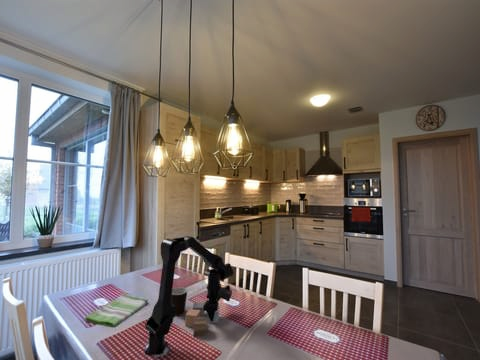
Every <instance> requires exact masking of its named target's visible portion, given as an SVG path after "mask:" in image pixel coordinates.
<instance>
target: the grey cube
mask: <svg viewBox="0 0 480 360" xmlns="http://www.w3.org/2000/svg"><path fill="white" fill-rule="evenodd" d="M219 319H220V306H219V307H218V311H215V315H214V320H213V321H210V318H209V316H208V314H207V313H206V323H209V324H211V323H213V324H218V323H219Z"/></svg>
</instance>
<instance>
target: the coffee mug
mask: <svg viewBox="0 0 480 360" xmlns="http://www.w3.org/2000/svg"><path fill="white" fill-rule="evenodd" d="M187 295H188V289H187V288H186V287H181V286H179V287H174V288H173V289H172V297H171V303H172V304H173V305H175V306H176V310H175V316H180V315H183V314H184V313H185V311H186V303H187Z"/></svg>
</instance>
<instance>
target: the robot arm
mask: <svg viewBox="0 0 480 360" xmlns="http://www.w3.org/2000/svg"><path fill="white" fill-rule="evenodd" d="M188 249H190V250H191V251H192V252H194V253H195V254H196V255H197V256H199V257H200V258H201V259H202V261H203V263H204V264H205V265H206V266H207V267H208V268H207V269H206V270H205V271H204V272H203V274H204V275H206V276H207V286H206V290H207V295H206V299H207V300H205V303H204V305H203V311H204V312H206V315H207V314H208V316H209V318H210V321H213V320H214V315H215V311H218V307H219V308H220V306H219V304H220V303H219V301H220V300H221V299H223V300H225V301H226V302H230V300H231V297H232V294H233V291H232V289H231V285H228V284H227V285H226V286H224V287H223V286H222V284H221V281H224V280H227V279H230V278H232V277H233V276H234V270H233V267H232V266H231V265H232V264H231V263H228V262H226V263H224V261H223V260H224V259H223V257H222V256H220V255H217V254H216V253H213V252H212V251H210V250H209V249H207V248H206V247H205V246H204V245H203V244H202V243H200V242H199V241H198V240H196V238H195V237H194V236H190V235H186V236H182V237H181V236H180V237H176V238H175V237H173V238H165V239H163V241H162V242H161V244H160V257H161V261H162V269H161V275H160V276H161V277H160V282H159V283H160V284H159V290H158V299H157V301H156V303H155V305H154V306H153V309H152V313H151V315H150V317H149V318H148V319H147V321H146V322H145V324H144V327H145V329H146V330H147V331H148V346H147V348H146V349H145V350H144V354H145V355H163V353H164V351H165V349H166V348H167V345H168V343H169V341H166V336H167V335H168V334H169V333H170V330H171V327H172V324H173V322H174V318H176V315H175V310H176V306H175V305H173V304H172V303H171V297H172V289H174V288H173V287H174V279H175V271H176V263H177V261H178V260H179V258H180V257H181V253H182V252H184V251H186V250H188ZM210 268H211V269H210Z"/></svg>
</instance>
